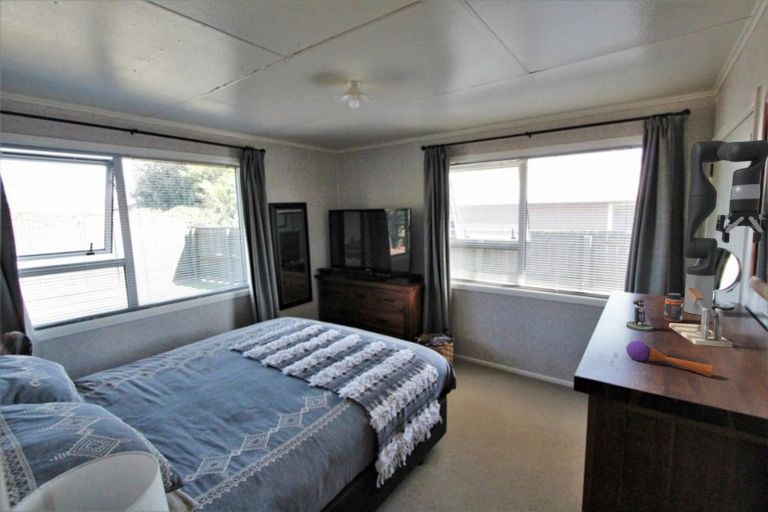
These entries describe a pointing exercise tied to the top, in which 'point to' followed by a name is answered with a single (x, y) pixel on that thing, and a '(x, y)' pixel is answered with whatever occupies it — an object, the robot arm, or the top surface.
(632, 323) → the figurine
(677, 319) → the supplement bottle
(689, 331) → the base
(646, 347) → the two-tone long tapered part
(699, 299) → the lever
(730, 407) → the top surface
